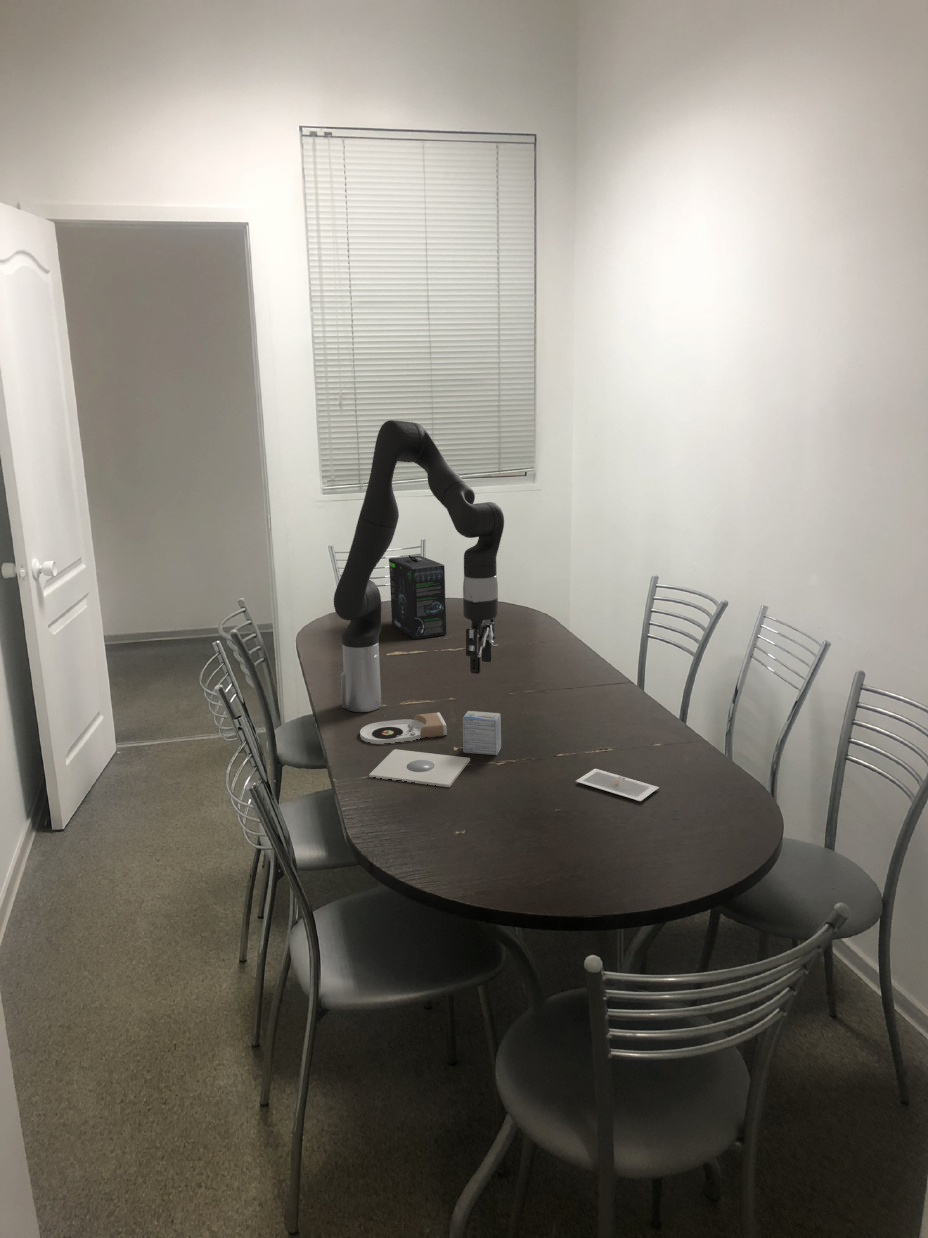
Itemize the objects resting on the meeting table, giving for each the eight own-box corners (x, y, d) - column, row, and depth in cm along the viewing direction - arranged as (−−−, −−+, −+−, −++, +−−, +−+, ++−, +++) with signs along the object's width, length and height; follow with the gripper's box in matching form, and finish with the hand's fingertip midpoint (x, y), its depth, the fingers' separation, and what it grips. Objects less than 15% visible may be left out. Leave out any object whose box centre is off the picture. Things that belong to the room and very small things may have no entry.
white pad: (369, 776, 185) (369, 773, 185) (394, 751, 198) (394, 748, 198) (449, 787, 180) (449, 784, 180) (470, 760, 193) (470, 757, 193)
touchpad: (640, 806, 171) (640, 796, 171) (575, 785, 181) (575, 776, 180) (658, 792, 177) (659, 782, 177) (594, 773, 187) (595, 763, 186)
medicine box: (501, 748, 199) (501, 712, 197) (496, 756, 195) (496, 719, 193) (468, 745, 201) (467, 710, 199) (462, 753, 197) (462, 717, 195)
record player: (447, 726, 205) (362, 736, 201) (448, 739, 206) (363, 748, 202) (438, 709, 216) (357, 718, 212) (438, 721, 217) (357, 730, 213)
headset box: (390, 624, 306) (387, 551, 300) (422, 620, 311) (420, 548, 305) (414, 640, 287) (411, 562, 280) (447, 635, 291) (446, 559, 285)
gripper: (473, 587, 196) (474, 656, 201) (453, 602, 183) (455, 675, 188) (505, 589, 194) (506, 659, 198) (487, 604, 181) (488, 678, 185)
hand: (481, 667), depth 193 cm, fingers open, 8 cm apart
